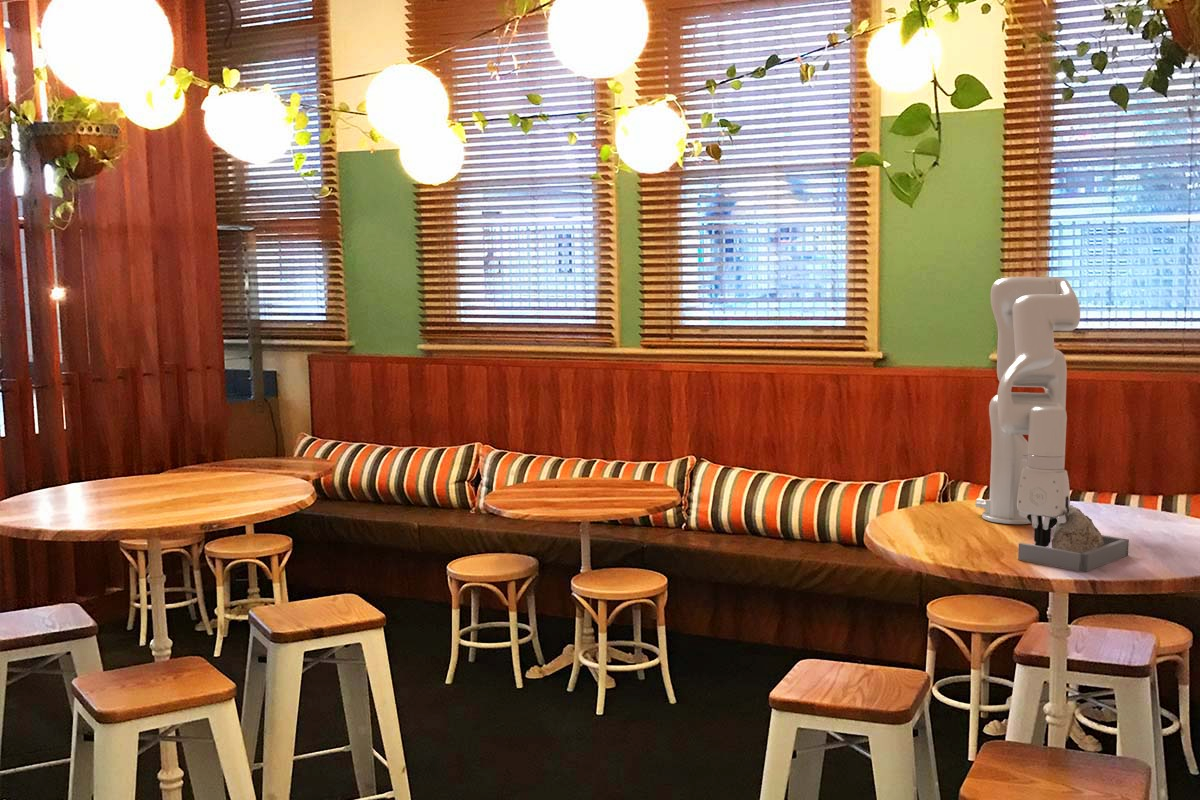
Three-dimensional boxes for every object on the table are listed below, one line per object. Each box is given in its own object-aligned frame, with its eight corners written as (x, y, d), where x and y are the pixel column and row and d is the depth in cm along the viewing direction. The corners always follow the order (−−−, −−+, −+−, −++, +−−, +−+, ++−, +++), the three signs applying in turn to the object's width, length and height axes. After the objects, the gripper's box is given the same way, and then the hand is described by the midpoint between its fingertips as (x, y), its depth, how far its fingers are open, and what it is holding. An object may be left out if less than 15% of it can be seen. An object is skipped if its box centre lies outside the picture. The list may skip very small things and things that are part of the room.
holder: (1018, 559, 245) (1018, 543, 245) (1063, 544, 260) (1064, 529, 259) (1084, 572, 235) (1085, 555, 234) (1128, 555, 249) (1128, 539, 249)
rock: (1126, 533, 243) (1099, 523, 240) (1103, 576, 245) (1075, 567, 242) (1082, 506, 255) (1055, 497, 252) (1060, 548, 257) (1034, 539, 254)
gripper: (1004, 460, 253) (1001, 543, 255) (1071, 469, 242) (1067, 555, 244) (1021, 457, 258) (1018, 537, 260) (1087, 465, 247) (1083, 549, 249)
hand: (1042, 546), depth 252 cm, fingers closed
